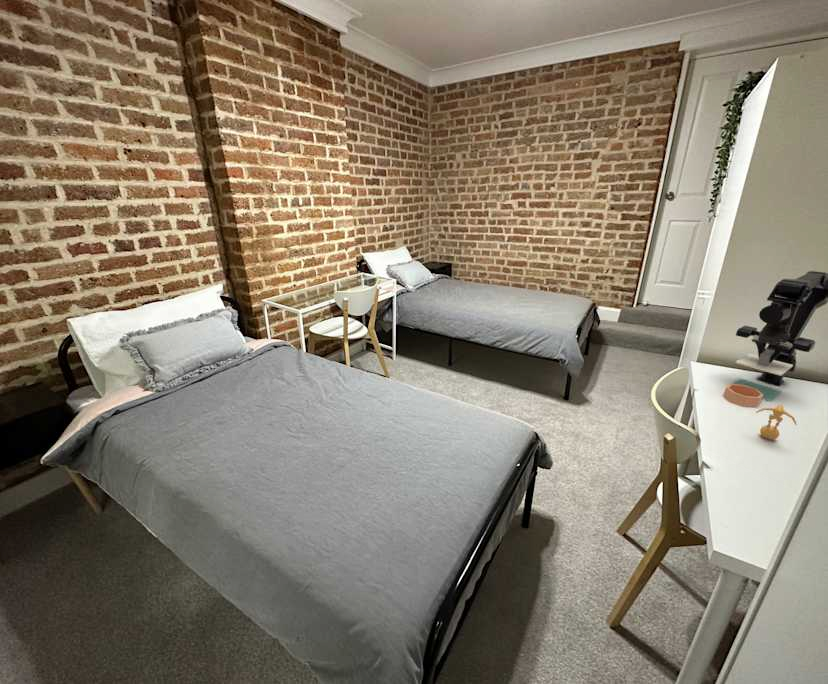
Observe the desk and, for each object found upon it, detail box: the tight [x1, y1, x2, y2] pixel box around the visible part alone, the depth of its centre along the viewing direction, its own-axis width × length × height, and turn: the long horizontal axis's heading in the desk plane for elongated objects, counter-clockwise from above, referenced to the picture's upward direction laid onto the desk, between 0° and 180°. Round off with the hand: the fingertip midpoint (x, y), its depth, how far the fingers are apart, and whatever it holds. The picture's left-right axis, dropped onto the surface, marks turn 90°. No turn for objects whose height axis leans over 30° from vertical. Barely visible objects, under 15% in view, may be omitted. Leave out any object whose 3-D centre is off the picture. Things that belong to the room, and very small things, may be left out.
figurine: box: [755, 404, 797, 440], centre depth 103 cm, size 8×6×12 cm
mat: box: [732, 378, 783, 403], centre depth 131 cm, size 12×12×1 cm
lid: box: [735, 350, 793, 376], centre depth 126 cm, size 12×12×5 cm
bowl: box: [722, 383, 764, 409], centre depth 124 cm, size 9×9×4 cm
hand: (765, 361), depth 127 cm, fingers closed on lid, 2 cm apart
